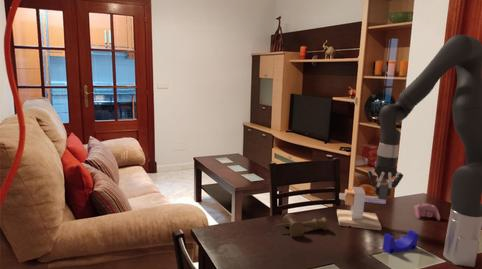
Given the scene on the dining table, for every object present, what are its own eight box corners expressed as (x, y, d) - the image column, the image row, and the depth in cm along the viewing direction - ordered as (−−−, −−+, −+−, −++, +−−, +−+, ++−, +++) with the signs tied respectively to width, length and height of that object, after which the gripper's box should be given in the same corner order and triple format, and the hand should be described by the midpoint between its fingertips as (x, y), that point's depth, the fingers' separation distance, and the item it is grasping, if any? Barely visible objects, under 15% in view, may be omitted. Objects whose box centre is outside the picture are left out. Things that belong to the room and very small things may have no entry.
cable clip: (406, 243, 128) (408, 228, 127) (415, 249, 124) (418, 234, 123) (379, 247, 125) (381, 232, 123) (388, 254, 120) (390, 238, 119)
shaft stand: (381, 230, 138) (385, 198, 135) (339, 225, 140) (342, 193, 138) (374, 216, 150) (378, 186, 147) (336, 212, 153) (339, 183, 150)
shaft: (385, 204, 140) (388, 185, 139) (339, 199, 143) (341, 181, 142) (384, 201, 143) (386, 183, 142) (339, 197, 146) (340, 178, 145)
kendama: (330, 236, 132) (280, 238, 128) (320, 225, 141) (272, 227, 137) (332, 221, 131) (281, 222, 127) (321, 211, 140) (274, 212, 136)
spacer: (352, 205, 142) (354, 193, 141) (345, 204, 142) (346, 193, 141) (351, 200, 147) (352, 189, 146) (344, 200, 147) (345, 188, 146)
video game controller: (436, 220, 152) (435, 204, 154) (441, 220, 148) (440, 203, 150) (413, 219, 153) (412, 203, 155) (417, 218, 149) (416, 202, 151)
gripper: (370, 155, 136) (365, 197, 139) (409, 158, 133) (402, 201, 137) (367, 150, 143) (362, 190, 146) (403, 153, 140) (398, 194, 144)
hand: (382, 195), depth 141 cm, fingers closed on shaft, 3 cm apart
